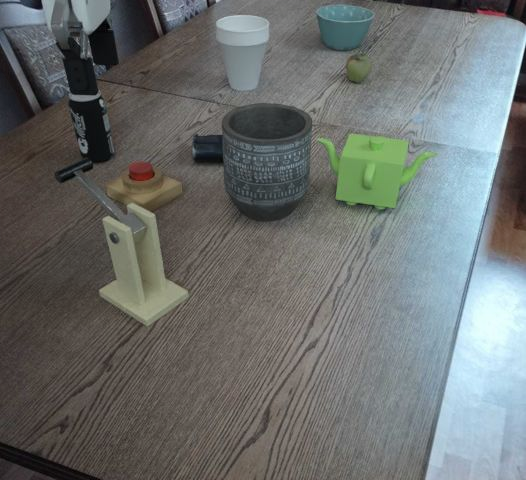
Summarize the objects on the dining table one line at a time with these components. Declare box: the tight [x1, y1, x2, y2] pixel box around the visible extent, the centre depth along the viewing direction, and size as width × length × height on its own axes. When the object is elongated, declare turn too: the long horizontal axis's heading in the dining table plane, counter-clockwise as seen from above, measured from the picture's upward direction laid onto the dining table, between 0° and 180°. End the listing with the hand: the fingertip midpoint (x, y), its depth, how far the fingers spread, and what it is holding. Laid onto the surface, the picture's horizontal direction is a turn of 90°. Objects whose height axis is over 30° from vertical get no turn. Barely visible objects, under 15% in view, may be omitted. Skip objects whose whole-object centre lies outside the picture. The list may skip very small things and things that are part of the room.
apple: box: [345, 53, 371, 84], centre depth 135 cm, size 6×8×6 cm
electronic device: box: [191, 132, 224, 163], centre depth 107 cm, size 9×6×15 cm
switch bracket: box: [98, 203, 190, 328], centre depth 74 cm, size 10×8×13 cm
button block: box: [104, 164, 184, 213], centre depth 97 cm, size 10×9×4 cm
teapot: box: [316, 133, 438, 210], centre depth 94 cm, size 15×13×11 cm
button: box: [128, 161, 154, 181], centre depth 95 cm, size 4×4×2 cm
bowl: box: [315, 4, 375, 51], centre depth 152 cm, size 16×16×8 cm
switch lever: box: [53, 158, 146, 243], centre depth 71 cm, size 13×5×2 cm, turn 50°
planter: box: [221, 102, 313, 222], centre depth 90 cm, size 14×14×15 cm
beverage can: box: [67, 89, 116, 164], centre depth 104 cm, size 7×7×12 cm
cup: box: [215, 14, 270, 92], centre depth 129 cm, size 12×12×14 cm
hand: (96, 78), depth 68 cm, fingers open, 9 cm apart
